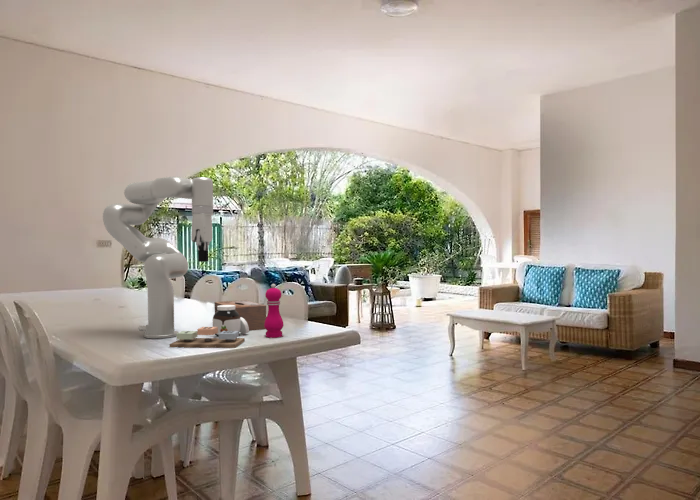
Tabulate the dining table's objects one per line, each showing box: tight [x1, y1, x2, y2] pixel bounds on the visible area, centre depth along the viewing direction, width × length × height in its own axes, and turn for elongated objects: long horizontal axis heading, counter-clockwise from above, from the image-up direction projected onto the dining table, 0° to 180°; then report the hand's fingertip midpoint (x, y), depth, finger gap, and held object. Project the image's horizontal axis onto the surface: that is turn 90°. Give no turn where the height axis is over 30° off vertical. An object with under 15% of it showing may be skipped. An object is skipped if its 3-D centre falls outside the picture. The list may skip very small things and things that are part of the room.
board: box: [168, 337, 246, 349], centre depth 194 cm, size 23×12×2 cm, turn 86°
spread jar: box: [212, 305, 250, 338], centre depth 212 cm, size 12×11×12 cm
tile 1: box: [176, 330, 199, 340], centre depth 194 cm, size 6×6×2 cm
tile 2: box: [196, 326, 218, 336], centre depth 194 cm, size 6×6×2 cm
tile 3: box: [218, 331, 240, 339], centre depth 193 cm, size 6×6×2 cm
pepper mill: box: [264, 283, 284, 339], centre depth 209 cm, size 7×7×20 cm
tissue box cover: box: [214, 299, 267, 332], centre depth 234 cm, size 26×14×10 cm, turn 29°
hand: (203, 261), depth 202 cm, fingers closed
